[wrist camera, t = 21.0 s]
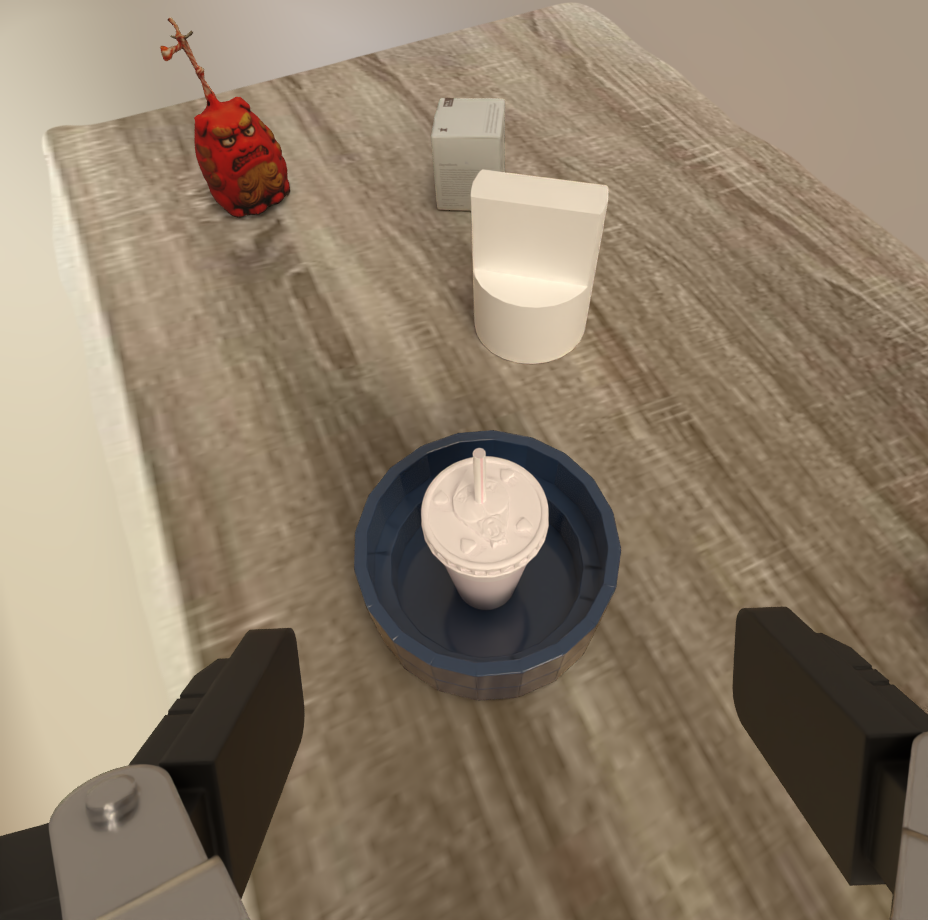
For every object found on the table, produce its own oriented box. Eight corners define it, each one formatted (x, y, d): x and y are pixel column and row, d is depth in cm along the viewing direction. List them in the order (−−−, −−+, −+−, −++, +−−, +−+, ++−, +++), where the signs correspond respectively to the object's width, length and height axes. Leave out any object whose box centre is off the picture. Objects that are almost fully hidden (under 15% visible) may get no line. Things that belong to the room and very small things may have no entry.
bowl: (451, 451, 46) (446, 395, 40) (639, 547, 41) (662, 499, 36) (326, 620, 39) (300, 582, 34) (531, 754, 35) (539, 735, 30)
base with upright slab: (593, 292, 53) (617, 159, 43) (575, 373, 49) (597, 246, 39) (489, 275, 55) (488, 143, 45) (461, 352, 50) (454, 225, 40)
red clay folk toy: (243, 232, 59) (175, 61, 46) (199, 201, 62) (124, 31, 49) (306, 192, 62) (259, 21, 49) (262, 164, 65) (206, -6, 52)
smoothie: (512, 520, 42) (522, 387, 30) (555, 609, 38) (584, 499, 27) (420, 554, 41) (391, 430, 29) (455, 648, 37) (439, 552, 26)
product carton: (500, 213, 59) (502, 137, 53) (435, 211, 60) (429, 135, 54) (504, 173, 62) (506, 97, 56) (443, 171, 63) (437, 95, 57)
